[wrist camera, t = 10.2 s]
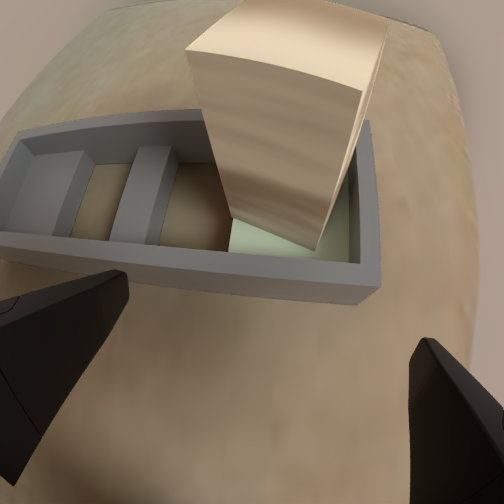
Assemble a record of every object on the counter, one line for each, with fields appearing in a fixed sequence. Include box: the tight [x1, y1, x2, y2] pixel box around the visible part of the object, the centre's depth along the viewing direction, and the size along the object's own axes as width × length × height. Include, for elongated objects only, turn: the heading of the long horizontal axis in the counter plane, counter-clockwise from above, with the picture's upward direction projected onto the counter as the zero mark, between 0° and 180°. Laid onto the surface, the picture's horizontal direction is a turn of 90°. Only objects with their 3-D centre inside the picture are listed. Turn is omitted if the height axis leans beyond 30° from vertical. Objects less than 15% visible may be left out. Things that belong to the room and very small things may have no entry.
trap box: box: [0, 109, 381, 305], centre depth 18 cm, size 10×27×4 cm, turn 83°
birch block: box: [185, 0, 390, 252], centre depth 13 cm, size 5×5×11 cm
